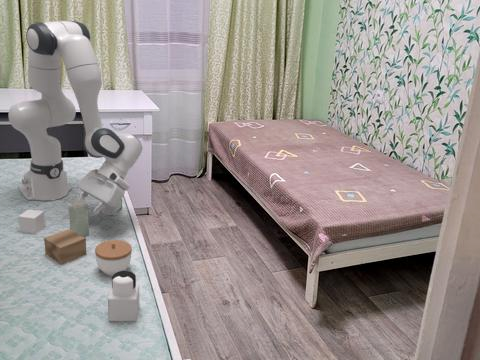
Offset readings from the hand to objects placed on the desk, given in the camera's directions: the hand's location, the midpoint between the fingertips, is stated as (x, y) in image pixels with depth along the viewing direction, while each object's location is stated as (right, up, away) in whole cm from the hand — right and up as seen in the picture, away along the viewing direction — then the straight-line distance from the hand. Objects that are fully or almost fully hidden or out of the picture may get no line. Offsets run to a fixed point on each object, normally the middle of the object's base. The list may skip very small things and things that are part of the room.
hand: (86, 208), depth 169 cm
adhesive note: (-20, -8, +3) cm, 21 cm away
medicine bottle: (+22, -26, -38) cm, 51 cm away
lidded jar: (+14, -18, -18) cm, 29 cm away
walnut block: (-3, -14, -11) cm, 18 cm away
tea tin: (-3, -9, +1) cm, 10 cm away
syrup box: (+4, -3, +20) cm, 21 cm away
